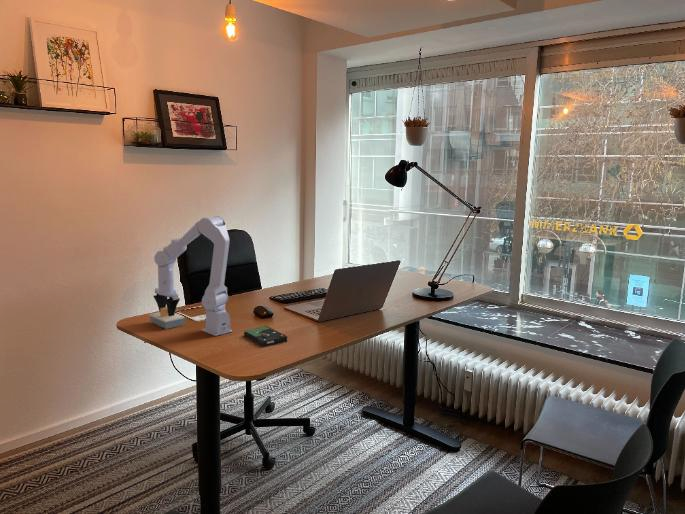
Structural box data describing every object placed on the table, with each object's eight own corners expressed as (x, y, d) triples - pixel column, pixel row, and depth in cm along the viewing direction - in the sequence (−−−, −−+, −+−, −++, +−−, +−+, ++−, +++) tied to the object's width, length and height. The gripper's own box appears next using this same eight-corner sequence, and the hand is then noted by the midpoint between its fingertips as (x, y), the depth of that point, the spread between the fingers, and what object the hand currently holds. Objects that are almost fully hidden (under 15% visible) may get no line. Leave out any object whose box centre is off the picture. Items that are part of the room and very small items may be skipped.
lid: (184, 318, 212) (184, 309, 211) (165, 322, 206) (165, 313, 205) (168, 311, 220) (168, 303, 219) (149, 315, 214) (149, 306, 213)
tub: (184, 325, 212) (184, 318, 212) (165, 329, 206) (165, 322, 206) (168, 319, 220) (168, 311, 220) (150, 322, 214) (150, 315, 214)
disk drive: (287, 343, 197) (266, 332, 208) (288, 336, 197) (266, 325, 208) (263, 348, 191) (243, 337, 202) (263, 341, 190) (243, 330, 201)
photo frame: (196, 320, 218) (174, 310, 230) (196, 322, 218) (174, 313, 230) (227, 313, 228) (204, 305, 240) (227, 316, 228) (204, 307, 240)
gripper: (185, 282, 208) (185, 315, 211) (165, 276, 218) (166, 308, 220) (168, 284, 203) (169, 319, 205) (149, 278, 213) (150, 311, 215)
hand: (166, 314), depth 212 cm, fingers open, 6 cm apart
